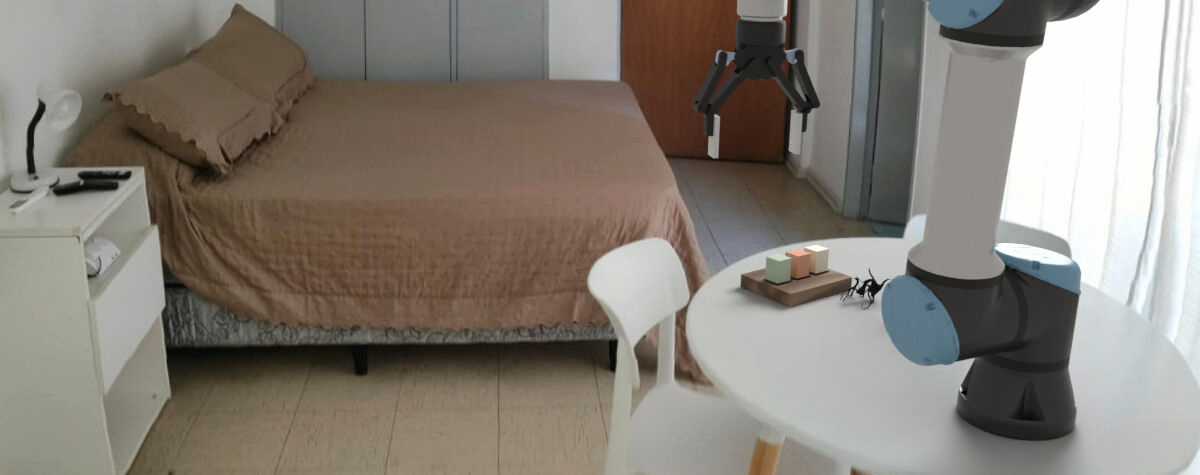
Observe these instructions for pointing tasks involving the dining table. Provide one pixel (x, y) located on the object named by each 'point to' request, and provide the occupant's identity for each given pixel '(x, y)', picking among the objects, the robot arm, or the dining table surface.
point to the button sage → (778, 268)
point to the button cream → (817, 258)
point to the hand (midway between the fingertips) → (754, 154)
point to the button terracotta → (799, 263)
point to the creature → (872, 288)
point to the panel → (797, 286)
